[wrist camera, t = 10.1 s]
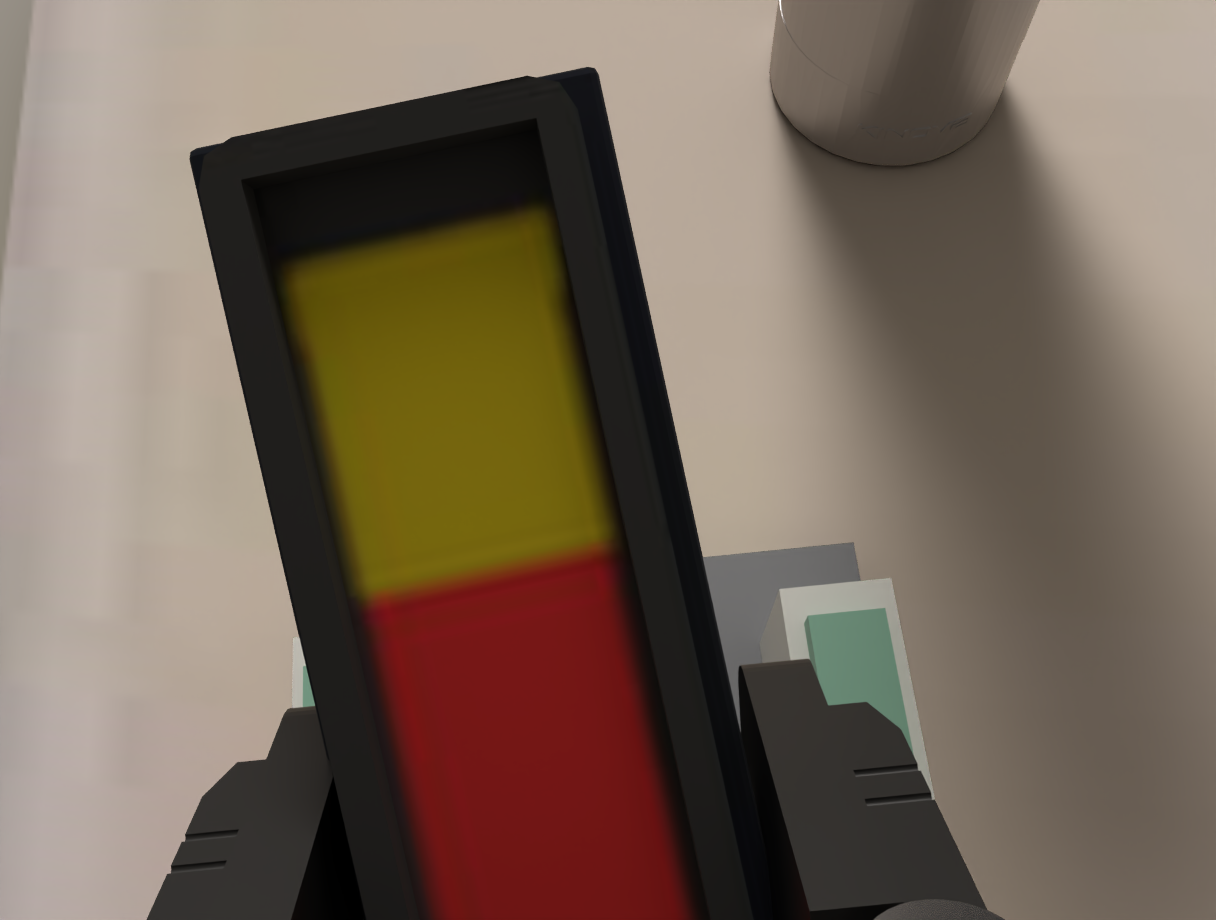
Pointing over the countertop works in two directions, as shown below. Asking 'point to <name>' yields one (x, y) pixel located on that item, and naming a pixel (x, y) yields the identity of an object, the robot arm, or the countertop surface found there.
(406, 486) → the magazine
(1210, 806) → the countertop surface
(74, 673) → the countertop surface
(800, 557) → the mounting plate
